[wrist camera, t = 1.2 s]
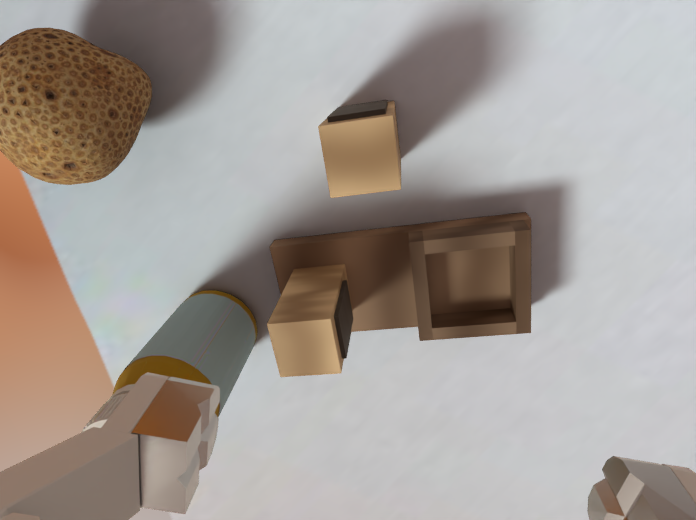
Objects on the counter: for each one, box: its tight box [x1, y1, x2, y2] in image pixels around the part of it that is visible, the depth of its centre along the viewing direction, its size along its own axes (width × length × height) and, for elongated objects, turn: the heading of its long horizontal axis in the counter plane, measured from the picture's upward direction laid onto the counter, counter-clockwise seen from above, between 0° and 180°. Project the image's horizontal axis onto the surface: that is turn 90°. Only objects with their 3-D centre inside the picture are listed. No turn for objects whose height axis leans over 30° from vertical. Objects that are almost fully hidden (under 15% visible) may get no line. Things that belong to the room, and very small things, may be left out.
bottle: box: [81, 290, 257, 433], centre depth 34 cm, size 7×7×15 cm
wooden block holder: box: [267, 212, 531, 377], centre depth 32 cm, size 19×8×10 cm, turn 99°
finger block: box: [318, 100, 401, 198], centre depth 29 cm, size 4×4×8 cm
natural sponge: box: [0, 28, 152, 185], centre depth 29 cm, size 9×9×10 cm
